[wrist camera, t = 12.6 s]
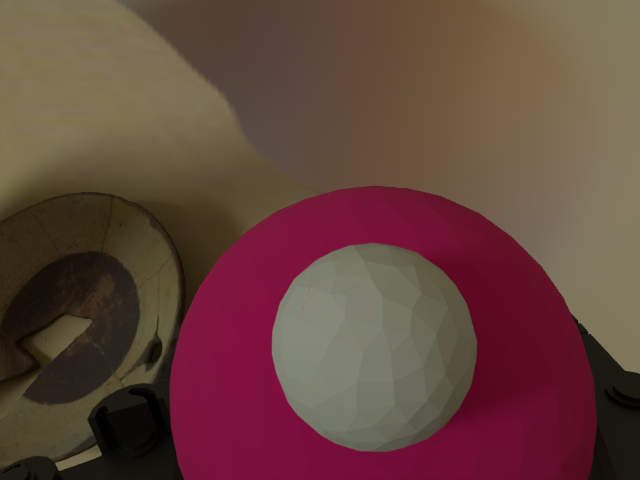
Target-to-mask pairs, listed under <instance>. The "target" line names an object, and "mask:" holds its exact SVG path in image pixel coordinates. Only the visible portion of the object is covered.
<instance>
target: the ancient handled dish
mask: <svg viewBox="0 0 640 480" xmlns="http://www.w3.org/2000/svg"><path fill="white" fill-rule="evenodd" d="M185 297H186V294H185V278H184V271H183V266H182V262H181V260H180V256H179V254H178V251H177V249H176V247H175V245H174V243H173V241H172V239H171V237H170V235H169V234H168V232H167V231H166V230H165V228H164V227H163V226H162V224H161V223H160V222H159V221H158V220H157V219H156V218H155V217H154V216H153V215H152V214H151V213H150V212H149V211H147V210H146V209H144V208H143V207H141V206H140V205H138V204H136V203H134V202H129V201H127V200H125V199H123V198H121V197H118V196H115V195H111V194H106V193H95V192H87V193H86V192H82V193H73V194H66V195H62V196H58V197H53V198H50V199H47V200H44V201H43V202H40V203H38V204H35V205H33V206H30V207H28V208H25V209H24V210H22V211H19V212H17V213H15V214H13V215H12V216H10V217H8V218H6V219H4V220H3V221H2V222H1V223H0V385H1V384H3V383H5V382H7V381H9V380H13V379H16V378H20V377H21V376H23V375H25V374H27V373H31V372H32V371H34V370H35V369H37V368H40V365H39V362H38V361H37V360H36V359H35V358H34V357H33V356H32V355H31V354H30V353H29V352H28V350H26V349H24V348H22V347H20V346H19V342H20V340H22V339H23V338H25V337H28V336H31V335H33V334H34V333H36V332H37V331H39V330H41V329H42V328H44V327H47V325H49V324H50V323H52V322H53V321H54V320H55V319H57V318H58V317H60V316H61V315H63V314H69V315H73V316H77V317H82V318H85V319H91V320H92V323H91V324H90V326H89V327H88V328H87V329H86V330H85V331H84V332H83V333H82V334H81V335H80V336H78V337H76V338H75V340H74V341H73V342H72V343H71V344H70V345H69V346H68V347H67V348H66V349H65V350H64V351H62V352H60V354H59V355H58V356H57V357H56V358H55V359H54V360H53V361H52V362H51V363H50V364H49V365H48V366H47V367H45V369H44V371H43V372H42V373H41V374H39V375H38V377H37V378H36V379H35V380H34V382H33V383H32V384H31V385H30V386H29V388H28V389H26V391H25V393H24V394H23V395H22V397H21V398H20V400H19V401H17V402H16V403H15V404H14V406H13V407H12V409H11V411H10V412H9V413H8V415H7V416H6V417H5V418H3V419H2V420H1V421H0V470H2V469H3V468H5V467H7V466H9V465H11V464H13V463H15V462H17V461H19V460H21V459H25V458H29V457H33V456H47V457H48V458H50V459H51V460H53V461H54V462H55V463H56V462H60V461H62V460H65V459H68V458H70V457H72V456H75V455H78V454H80V453H82V452H84V451H86V450H88V449H90V448H92V447H93V446H95V445H96V444H98V443H97V441H96V439H95V436H94V434H93V432H92V429H91V427H90V425H89V422H88V420H87V418H88V416H89V415H90V413H91V411H92V409H93V408H94V407H95V406H96V405H97V404H98V403H99V402H100V401H101V400H102V399H103V398H105V397H107V396H108V395H110V394H111V393H113V392H115V391H116V390H119V389H121V388H124V387H127V386H129V385H134V384H140V383H148V384H155V385H157V383H158V381H160V377H161V375H162V373H163V371H164V369H166V365H167V363H168V361H169V359H170V357H171V355H172V353H173V352H174V351H175V350H176V346H177V342H178V338H179V334H180V330H181V325H182V323H183V317H184V311H185ZM160 342H161V343H162V353H161V356H160V358H159V359H158V360H157V361H156V362H151V359H152V355H153V353H154V350H155V348H156V346H157V345H158V344H159V343H160ZM45 343H47V340H46V337H45Z"/></svg>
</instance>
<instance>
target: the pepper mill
mask: <svg viewBox="0 0 640 480" xmlns="http://www.w3.org/2000/svg"><path fill="white" fill-rule="evenodd" d="M169 387H170V418H171V429H172V434H173V439H174V444H175V449H176V454H177V460H178V464H179V467H180V470H181V473H182V475H183V478H184V480H588V477H589V474H590V471H591V468H592V460H593V452H594V444H595V436H596V428H597V417H596V404H595V391H594V378H593V375H592V371H591V368H590V365H589V361H588V358H587V355H586V351H585V348H584V344H583V341H582V338H581V334H580V332H579V330H578V328H577V326H576V324H575V322H574V320H573V317H572V315H571V313H570V311H569V309H568V307H567V305H566V303H565V300H564V298H563V297H562V295H561V294H560V293H559V291H558V289H557V288H556V287H555V285H554V284H553V282H552V281H551V279H550V278H549V277H548V275H547V274H546V272H545V271H544V270H543V268H542V267H541V266H540V265H539V264H538V263H537V262H536V261H535V260H534V259H533V258H532V257H531V256H530V255H529V254H528V253H527V252H526V251H525V250H524V249H523V248H522V247H521V246H520V245H519V244H518V243H517V242H516V241H515V240H514V239H513V238H512V237H511V236H510V235H508V234H507V233H506V232H504V231H503V230H501V229H500V228H499V227H497V226H496V225H495V224H493V223H492V222H490V221H489V220H487V219H486V218H485V217H484V216H482V215H481V214H479V213H477V212H475V211H473V210H471V209H468V208H466V207H464V206H462V205H460V204H457V203H455V202H453V201H451V200H448V199H446V198H444V197H442V196H438V195H433V194H430V193H425V192H421V191H417V190H412V189H408V188H396V187H382V186H368V187H359V188H350V189H341V190H336V191H333V192H329V193H326V194H322V195H318V196H315V197H311V198H307V199H304V200H302V201H300V202H297V203H295V204H293V205H290V206H288V207H286V208H283V209H281V210H279V211H277V212H275V213H274V214H272V215H271V216H269V217H268V218H266V219H265V220H263V221H262V222H260V223H259V224H257V225H256V226H254V227H253V228H251V229H250V230H248V231H247V232H246V233H245V234H244V235H243V236H242V237H241V238H240V239H239V240H238V241H236V242H235V243H234V244H233V245H232V246H231V247H230V248H229V249H228V250H227V251H226V252H225V253H224V254H223V255H222V256H220V258H219V259H218V261H217V262H216V263H215V265H214V266H213V268H212V269H211V271H210V272H209V274H208V275H207V277H206V278H205V279H204V281H203V282H202V284H201V285H200V287H199V288H198V291H197V293H196V295H195V297H194V299H193V301H192V303H191V306H190V308H189V310H188V312H187V314H186V316H185V318H184V321H183V323H182V325H181V330H180V334H179V338H178V342H177V346H176V350H175V354H174V359H173V363H172V368H171V377H170V386H169Z"/></svg>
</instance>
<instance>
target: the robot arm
mask: <svg viewBox="0 0 640 480" xmlns="http://www.w3.org/2000/svg"><path fill="white" fill-rule="evenodd" d="M571 315H572V314H571ZM572 317H573V320H574V322H575V324H576V326H577V328H578V330H579V332H580V334H581V338H582V341H583V344H584V348H585V351H586V355H587V358H588V361H589V365H590V368H591V371H592V375H593V378H594V391H595V404H596V417H597V428H596V436H595V444H594V452H593V460H592V468H591V471H590V474H589V477H588V480H640V374H638V373H634V372H628V371H625V370H624V369H623V368H622V367H621V366H620V365H619V364H618V363H617V362H616V361H615V360H614V359H613V358H612V357H611V356H610V355H609V353H608V352H607V351H606V350H605V349H604V348H603V347H602V346H601V345H600V344H599V343H598V342H597V341H596V339H595V338H594V337H593V336H592V335H591V334H588V331H587V330H586V329H585V328H584V327H583V326H582V324H580V323H578V320H577V319H576V318H575V317H574V316H573V315H572ZM174 354H175V351H174V352H173V353H172V355H171V357H170V359H169V361H168V363H167V365H166V369H164V371H163V373H162V375H161V377H160V381H158V383H157V385H155V384H148V383H140V384H134V385H129V386H127V387H124V388H121V389H119V390H116V391H115V392H113V393H111V394H110V395H108V396H107V397H105V398H103V399H102V400H101V401H100V402H99V403H98V404H97V405H96V406H95V407H94V408H93V409H92V411H91V413H90V415H89V416H88V418H87V420H88V422H89V425H90V427H91V429H92V432H93V434H94V436H95V439H96V441H97V443H98V446H99V448H100V451H101V453H102V456H100V457H97V458H95V459H93V460H90V461H87V462H84V463H81V464H79V465H76V466H73V467H70V468H67V469H64V470H61V471H59V470H58V468H57V466H56V464H55V462H54V461H53V460H51V459H50V458H48V457H47V456H33V457H29V458H25V459H21V460H19V461H17V462H15V463H13V464H11V465H9V466H7V467H5V468H3V469H2V470H0V480H184V478H183V475H182V473H181V470H180V467H179V464H178V460H177V454H176V449H175V444H174V439H173V434H172V429H171V418H170V387H169V386H170V377H171V368H172V363H173V359H174Z"/></svg>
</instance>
